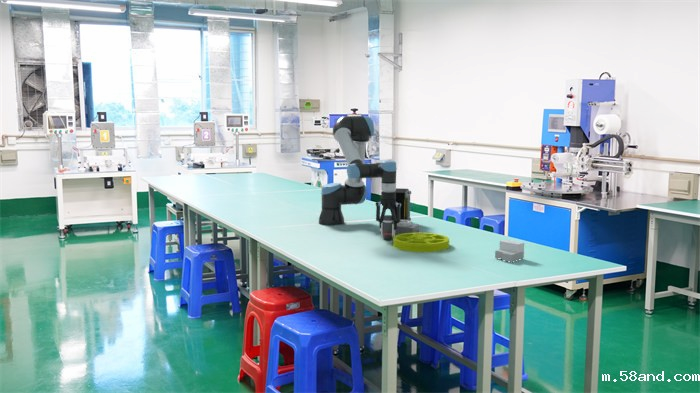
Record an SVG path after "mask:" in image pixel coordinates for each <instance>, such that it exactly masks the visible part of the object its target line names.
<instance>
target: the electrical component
mask: <svg viewBox="0 0 700 393" xmlns="http://www.w3.org/2000/svg"><path fill="white" fill-rule="evenodd" d="M395 192H396V202H397V203H399V204H400V203H401V208H400V214H401V220H409V221H411V220H412V218H411V195H412V190H410V189H409V188H397V187H396V191H395ZM394 209H395V210H394V211H395V215H396V219H397V207H396V205H395V206H394ZM411 222H412V221H411Z"/></svg>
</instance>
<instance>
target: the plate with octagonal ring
mask: <svg viewBox="0 0 700 393" xmlns="http://www.w3.org/2000/svg"><path fill="white" fill-rule="evenodd" d="M404 233H420V224H419V223H418V224H417V223H412V221H409V220H401V221H400V222H399V223H397V229H396V230H395V236H396V235H399V234H404Z"/></svg>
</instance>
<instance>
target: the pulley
mask: <svg viewBox="0 0 700 393" xmlns="http://www.w3.org/2000/svg"><path fill="white" fill-rule="evenodd" d="M392 246H393V248H394V249H397V250H401V251H406V252H412V253H434V251H437V252H441V250H443V251H446V250H448V249H449V248H450V238H449V237H448V236H446V235H444V234H438V233H431V232H419V233H404V234H399V235H396V236H393V239H392ZM447 248H448V249H447ZM445 249H446V250H445Z"/></svg>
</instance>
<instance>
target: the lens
mask: <svg viewBox="0 0 700 393" xmlns="http://www.w3.org/2000/svg"><path fill="white" fill-rule="evenodd" d="M392 224H393V219H392V215H390V214H385V215H384V216H383V235H382V239H383V240H385V241H388V240H389V241H390V240H393V237H394V236H392Z"/></svg>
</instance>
